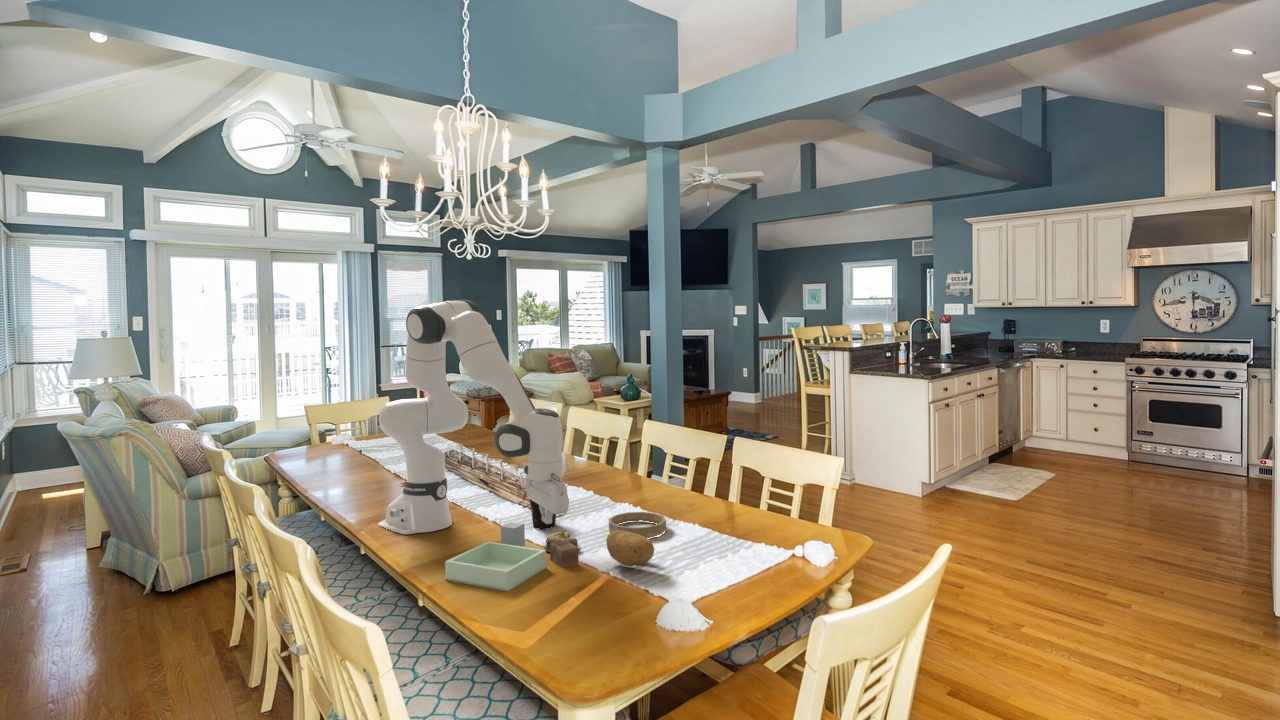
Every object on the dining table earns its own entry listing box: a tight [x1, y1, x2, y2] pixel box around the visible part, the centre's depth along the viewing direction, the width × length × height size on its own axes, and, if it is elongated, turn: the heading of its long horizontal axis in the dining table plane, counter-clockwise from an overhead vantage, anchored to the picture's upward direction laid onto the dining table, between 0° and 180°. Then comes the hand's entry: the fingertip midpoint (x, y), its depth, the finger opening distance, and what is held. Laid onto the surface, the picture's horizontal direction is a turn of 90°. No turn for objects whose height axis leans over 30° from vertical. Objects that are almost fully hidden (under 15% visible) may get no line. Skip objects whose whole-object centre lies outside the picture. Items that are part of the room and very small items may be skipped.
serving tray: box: [444, 541, 548, 593], centre depth 156 cm, size 18×16×5 cm
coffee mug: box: [529, 499, 557, 530], centre depth 195 cm, size 12×9×10 cm
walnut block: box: [549, 540, 579, 569], centre depth 164 cm, size 4×4×7 cm
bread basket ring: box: [608, 511, 667, 538], centre depth 189 cm, size 17×17×4 cm
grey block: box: [500, 521, 526, 547], centre depth 173 cm, size 4×4×7 cm
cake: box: [543, 529, 581, 553], centre depth 174 cm, size 10×10×5 cm
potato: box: [605, 530, 655, 567], centre depth 161 cm, size 10×14×8 cm
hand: (547, 522), depth 169 cm, fingers closed
